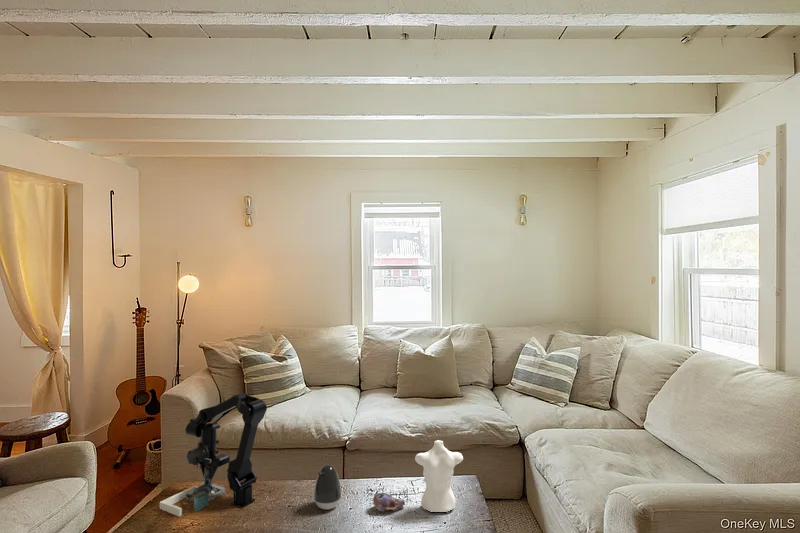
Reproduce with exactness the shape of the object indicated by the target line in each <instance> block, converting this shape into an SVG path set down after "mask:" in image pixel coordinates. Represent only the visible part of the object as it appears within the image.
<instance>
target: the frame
mask: <svg viewBox="0 0 800 533" xmlns="http://www.w3.org/2000/svg"><path fill="white" fill-rule="evenodd" d="M198 487H200V486H199V485H196V484H195V485H193V486H191V487H189V488H187V489H186V488H185V490H183V491H181V492H177V493H175V494H173V495H172V496H169V497H168V498H167V497H166V498H165V499H163V500H161V501H159V509H160V510H161V509H162V510H161V511H164V512H166V511H167V513H169V514H172V515H174V516H177V517H182V515H183V508H182V507H179V506H177V505H175V504H176V503H179V502H181V501H182V500H184V499H185V498H184V497H183V495H184V494H186V493H189V494H192V493H193V491H194V490H195V489H196V488H198ZM214 493H215V492H214V491H212V492H210V493H209V496H210V495H212V494H214ZM214 499H215V498H213V499H212V500H214ZM185 500H186V499H185Z"/></svg>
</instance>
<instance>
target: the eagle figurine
mask: <svg viewBox="0 0 800 533" xmlns="http://www.w3.org/2000/svg"><path fill="white" fill-rule="evenodd" d="M212 490H213V487H212V486H211V485H209V484H208V485H207V484H205V485H202V486H201V485H200V486H199V487H198V488H196V489H195V490H194V491H193V493H192V494H189V493H186V494H184V495H183V497H184V498H185V500H187V501H185V504H187V509H189V508H190V507H191V506H192V503H194V498H195V497H197V496H199V495H201V494H203V493H205V492H207V493H210V492H212Z"/></svg>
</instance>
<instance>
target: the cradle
mask: <svg viewBox="0 0 800 533" xmlns="http://www.w3.org/2000/svg"><path fill="white" fill-rule="evenodd" d="M219 486H221V487H224V488H225V489H226V485H223V484H219ZM212 491H214V492H215V493H216V492H218V489H215V488H214V489H213V490H212ZM224 494H225V493H223V494H221V495H222V496H223V495H224ZM221 495H219V496H217V497H215V498H218V497H220V496H221ZM215 498H214V499H215Z"/></svg>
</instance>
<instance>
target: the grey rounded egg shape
mask: <svg viewBox="0 0 800 533" xmlns="http://www.w3.org/2000/svg"><path fill="white" fill-rule="evenodd" d="M338 474H339V473H338V472H337V470H336V468H335V467H334V465H332V464H324V465H323V466H322V467H321V468H320V470H319V472H318V475H317V476H316V481H315V485H314V491H313V499H314V502H315V505H316V506H317V507H318V508H319V509H321V510H324V511H325V510H326V511H327V510H328V511H329V510H332V509H334V508H335V507H336V506H337V505H338V504H339V502H340V499H341V497H342V488H341V481H340V478H339V475H338Z"/></svg>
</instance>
